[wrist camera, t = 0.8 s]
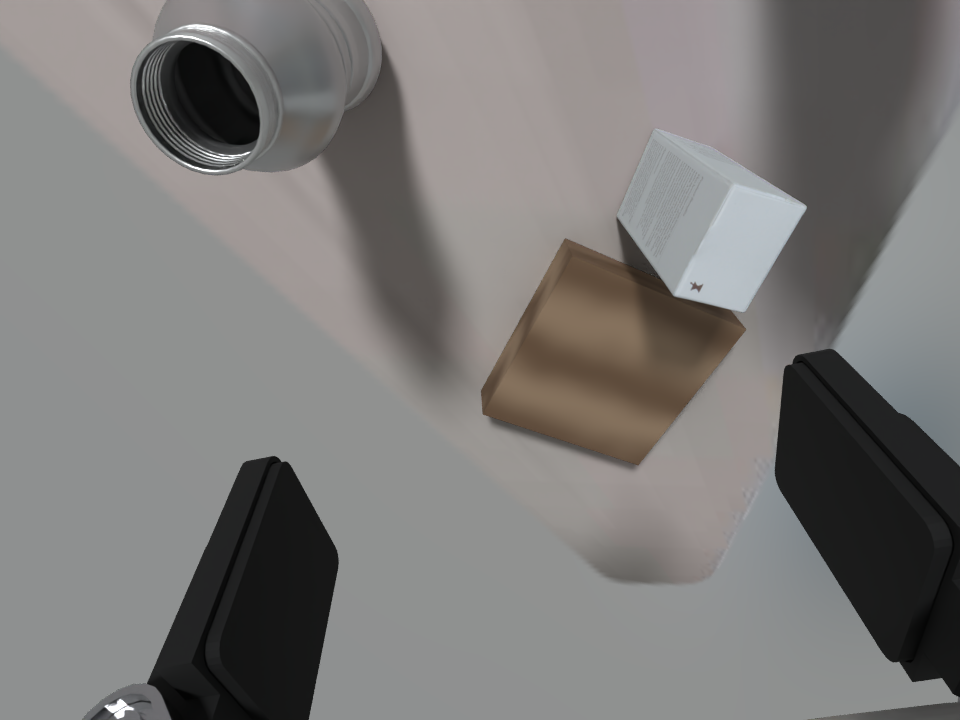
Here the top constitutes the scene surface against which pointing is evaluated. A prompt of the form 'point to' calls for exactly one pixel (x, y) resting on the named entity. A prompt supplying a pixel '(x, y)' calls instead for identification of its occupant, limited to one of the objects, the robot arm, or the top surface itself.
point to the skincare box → (706, 221)
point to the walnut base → (606, 356)
